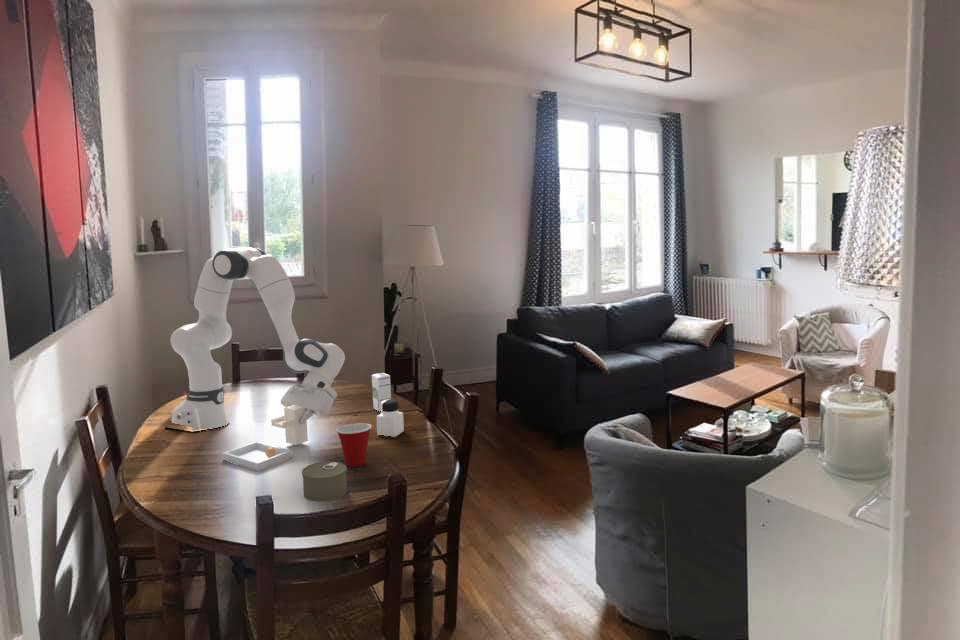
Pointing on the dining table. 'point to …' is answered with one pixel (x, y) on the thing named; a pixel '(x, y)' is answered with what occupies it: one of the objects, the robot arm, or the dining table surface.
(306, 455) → the dining table surface
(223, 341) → the robot arm
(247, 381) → the dining table surface
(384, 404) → the medicine bottle
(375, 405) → the syrup box
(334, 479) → the can
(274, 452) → the ball
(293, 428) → the white block with shelf
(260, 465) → the tray
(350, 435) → the plastic cup
